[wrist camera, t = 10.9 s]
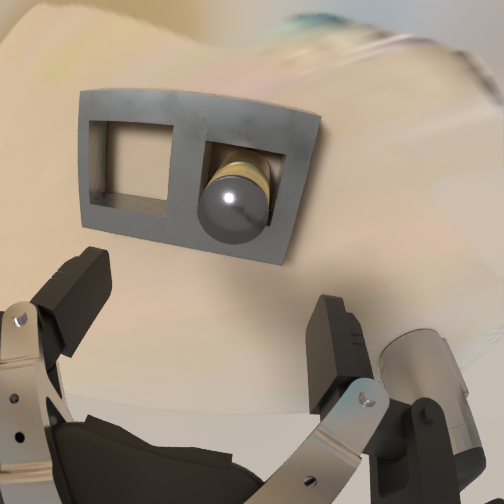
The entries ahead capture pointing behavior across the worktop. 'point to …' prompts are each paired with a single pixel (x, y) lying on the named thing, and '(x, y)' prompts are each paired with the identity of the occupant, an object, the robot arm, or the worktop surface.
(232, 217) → the gold and grey cylinder
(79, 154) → the grey fitting block
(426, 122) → the worktop surface
